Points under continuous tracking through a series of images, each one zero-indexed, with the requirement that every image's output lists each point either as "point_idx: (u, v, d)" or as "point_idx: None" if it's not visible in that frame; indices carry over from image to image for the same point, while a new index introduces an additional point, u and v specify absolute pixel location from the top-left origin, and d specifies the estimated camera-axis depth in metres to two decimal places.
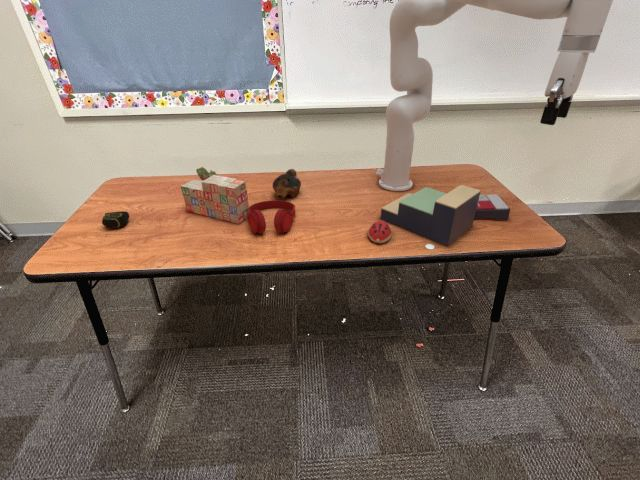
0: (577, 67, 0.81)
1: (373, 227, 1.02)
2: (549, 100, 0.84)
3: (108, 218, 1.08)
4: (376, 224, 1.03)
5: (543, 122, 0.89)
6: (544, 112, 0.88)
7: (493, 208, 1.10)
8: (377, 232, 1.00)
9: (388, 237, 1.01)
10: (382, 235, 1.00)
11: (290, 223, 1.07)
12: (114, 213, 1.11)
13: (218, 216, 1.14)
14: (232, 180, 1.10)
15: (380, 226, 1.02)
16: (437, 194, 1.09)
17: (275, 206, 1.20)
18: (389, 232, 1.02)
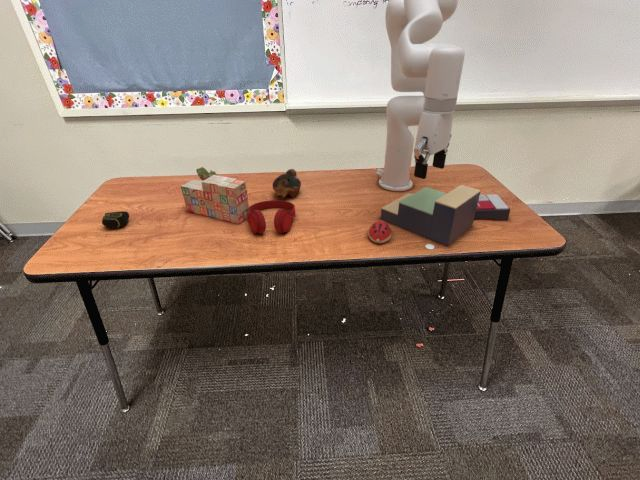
0: (437, 127, 0.85)
1: (373, 227, 1.02)
2: (415, 157, 0.87)
3: (108, 218, 1.08)
4: (376, 224, 1.03)
5: (416, 175, 0.92)
6: (416, 166, 0.91)
7: (493, 208, 1.10)
8: (377, 232, 1.00)
9: (388, 237, 1.01)
10: (382, 235, 1.00)
11: (290, 223, 1.07)
12: (114, 213, 1.11)
13: (218, 216, 1.14)
14: (232, 180, 1.10)
15: (380, 226, 1.02)
16: (437, 194, 1.09)
17: (275, 206, 1.20)
18: (389, 232, 1.02)
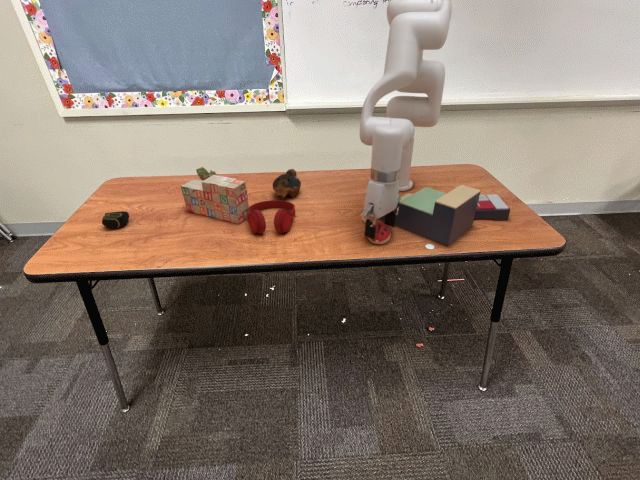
0: (381, 195, 0.92)
1: None
2: (363, 221, 0.95)
3: (107, 218, 1.08)
4: (375, 225, 1.03)
5: (366, 235, 1.00)
6: (365, 227, 0.99)
7: (493, 208, 1.10)
8: (377, 234, 1.00)
9: (387, 238, 1.01)
10: (381, 236, 1.00)
11: (290, 223, 1.07)
12: (114, 213, 1.11)
13: (218, 216, 1.14)
14: (232, 180, 1.10)
15: (379, 227, 1.02)
16: (437, 194, 1.09)
17: (275, 206, 1.20)
18: (388, 233, 1.02)
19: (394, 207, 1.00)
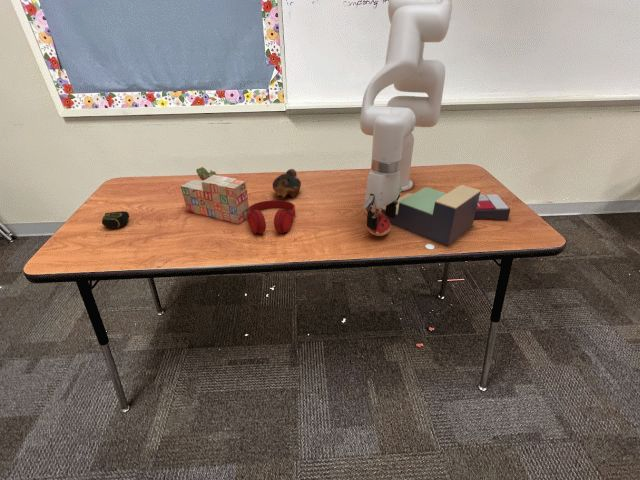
0: (382, 186, 0.92)
1: None
2: (365, 212, 0.95)
3: (107, 218, 1.08)
4: None
5: None
6: (367, 218, 0.99)
7: (493, 208, 1.10)
8: (377, 225, 1.00)
9: (387, 230, 1.01)
10: (381, 228, 1.00)
11: (290, 223, 1.07)
12: (114, 213, 1.11)
13: (218, 216, 1.14)
14: (232, 180, 1.10)
15: (379, 218, 1.02)
16: (437, 194, 1.09)
17: (275, 206, 1.20)
18: (388, 225, 1.02)
19: (395, 197, 0.99)
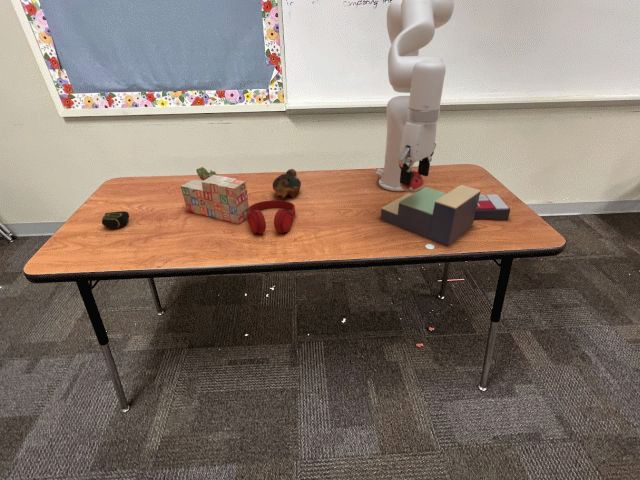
0: (419, 137, 0.89)
1: None
2: (400, 165, 0.93)
3: (107, 218, 1.08)
4: None
5: (401, 182, 0.98)
6: (401, 174, 0.97)
7: (493, 208, 1.10)
8: None
9: (421, 186, 0.98)
10: (415, 184, 0.97)
11: (290, 223, 1.07)
12: (114, 213, 1.11)
13: (218, 216, 1.14)
14: (232, 180, 1.10)
15: (412, 175, 0.99)
16: (437, 194, 1.09)
17: (275, 206, 1.20)
18: (422, 181, 0.99)
19: (430, 152, 0.97)
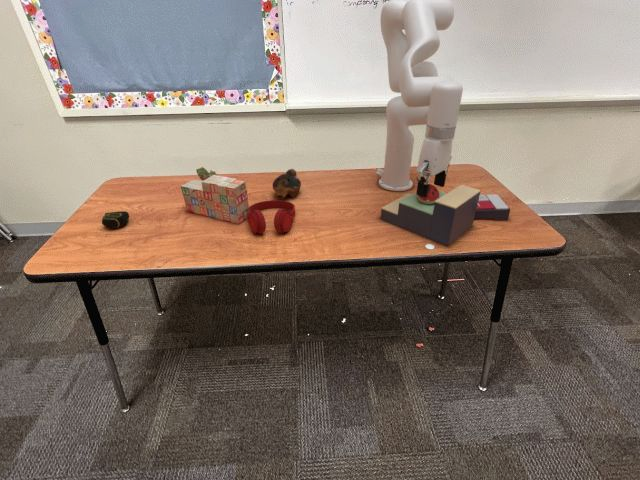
0: (437, 152, 0.94)
1: None
2: (417, 178, 0.97)
3: (107, 218, 1.08)
4: None
5: (418, 194, 1.02)
6: (418, 186, 1.01)
7: (493, 208, 1.10)
8: (428, 193, 1.02)
9: (437, 198, 1.03)
10: (432, 196, 1.02)
11: (290, 223, 1.07)
12: (114, 213, 1.11)
13: (218, 216, 1.14)
14: (232, 180, 1.10)
15: (428, 188, 1.05)
16: None
17: (275, 206, 1.20)
18: (438, 194, 1.04)
19: (446, 166, 1.02)
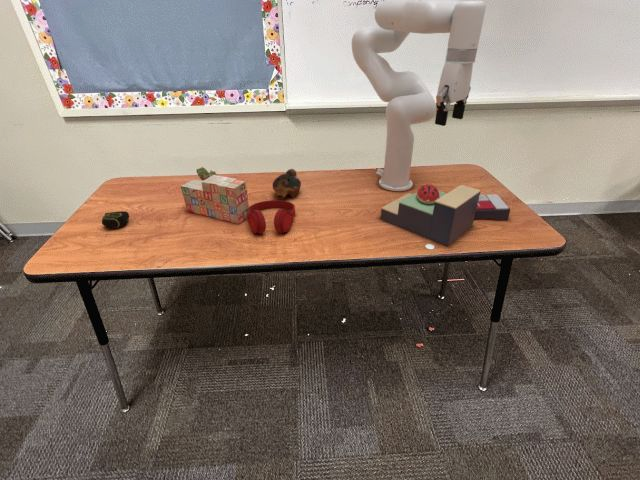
0: (457, 76, 0.94)
1: (422, 189, 1.04)
2: (437, 104, 0.97)
3: (107, 218, 1.08)
4: (425, 186, 1.05)
5: (437, 123, 1.02)
6: (437, 114, 1.01)
7: (493, 208, 1.10)
8: (428, 193, 1.02)
9: (437, 198, 1.03)
10: (432, 196, 1.02)
11: (290, 223, 1.07)
12: (114, 213, 1.11)
13: (218, 216, 1.14)
14: (232, 180, 1.10)
15: (428, 188, 1.05)
16: None
17: (275, 206, 1.20)
18: (438, 194, 1.04)
19: (465, 95, 1.01)
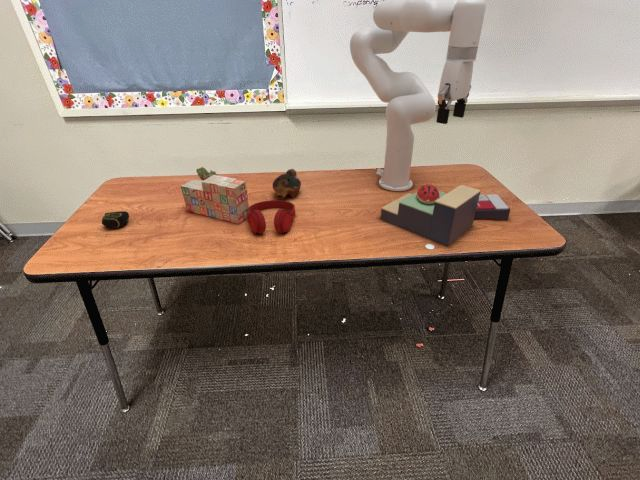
0: (459, 74, 0.94)
1: (422, 189, 1.04)
2: (438, 102, 0.97)
3: (107, 218, 1.08)
4: (425, 186, 1.05)
5: (438, 121, 1.02)
6: (438, 112, 1.01)
7: (493, 208, 1.10)
8: (428, 193, 1.02)
9: (437, 198, 1.03)
10: (432, 196, 1.02)
11: (290, 223, 1.07)
12: (114, 213, 1.11)
13: (218, 216, 1.14)
14: (232, 180, 1.10)
15: (428, 188, 1.05)
16: None
17: (275, 206, 1.20)
18: (438, 194, 1.04)
19: (466, 93, 1.02)
